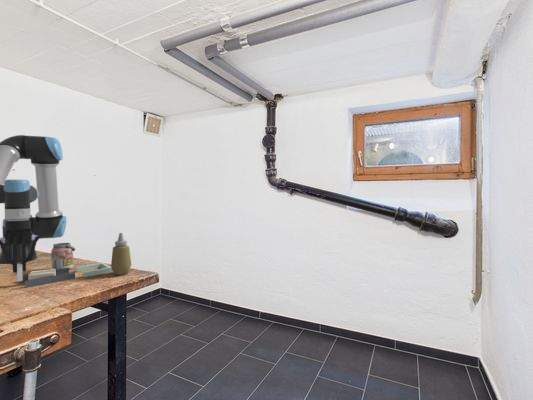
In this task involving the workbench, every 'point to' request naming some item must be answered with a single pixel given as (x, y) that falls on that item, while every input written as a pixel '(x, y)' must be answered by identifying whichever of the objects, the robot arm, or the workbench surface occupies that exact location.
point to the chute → (49, 278)
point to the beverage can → (62, 256)
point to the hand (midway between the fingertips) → (19, 280)
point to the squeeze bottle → (121, 257)
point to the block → (41, 274)
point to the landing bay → (94, 272)
